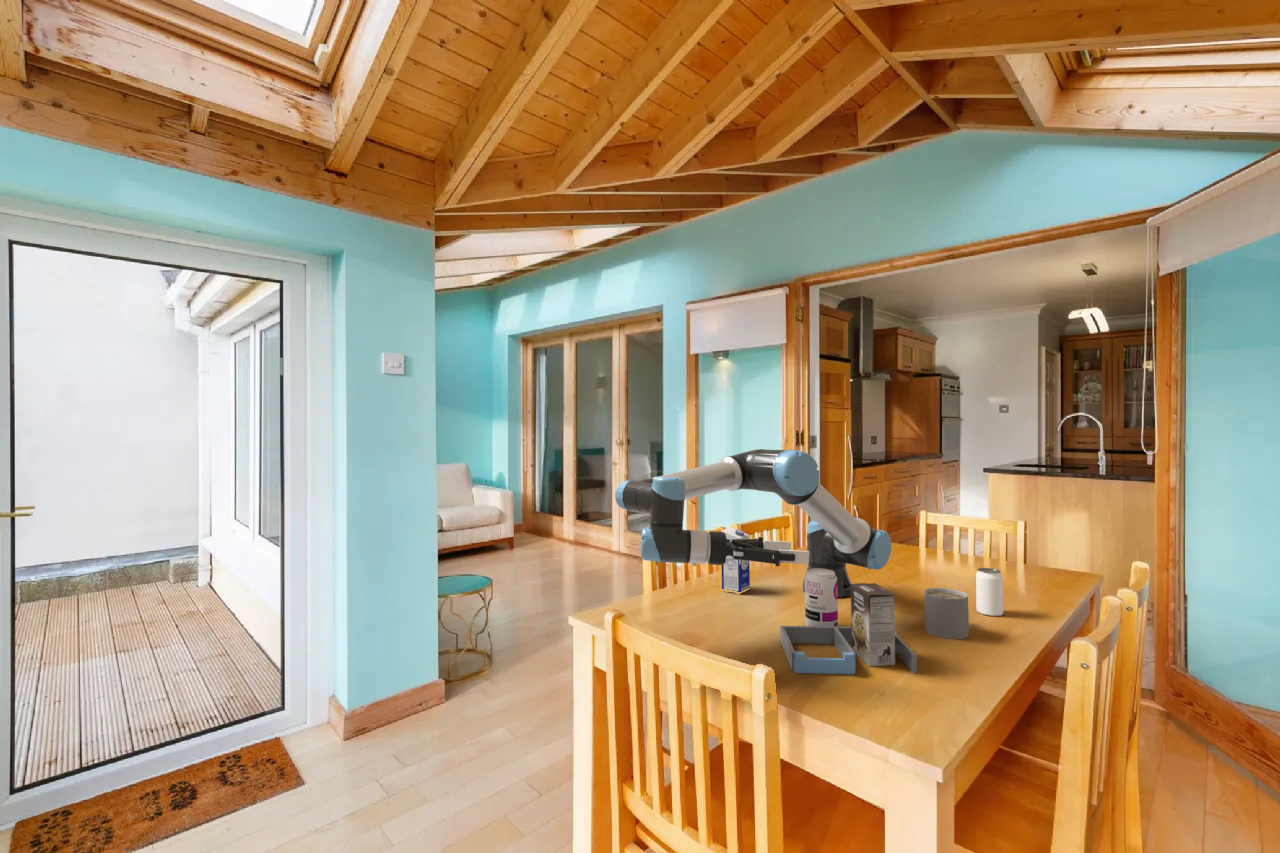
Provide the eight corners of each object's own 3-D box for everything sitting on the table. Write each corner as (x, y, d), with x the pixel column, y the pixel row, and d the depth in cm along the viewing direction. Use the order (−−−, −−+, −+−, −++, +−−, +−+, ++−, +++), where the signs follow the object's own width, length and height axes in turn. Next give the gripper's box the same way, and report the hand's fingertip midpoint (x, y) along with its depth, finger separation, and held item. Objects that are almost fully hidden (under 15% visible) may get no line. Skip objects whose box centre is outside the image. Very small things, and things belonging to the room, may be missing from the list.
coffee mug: (963, 642, 141) (962, 601, 141) (919, 633, 148) (919, 593, 148) (976, 627, 151) (975, 589, 151) (935, 619, 158) (934, 582, 158)
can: (1007, 617, 158) (1006, 573, 158) (981, 616, 160) (980, 572, 159) (997, 609, 165) (997, 567, 165) (972, 608, 166) (972, 567, 166)
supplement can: (838, 624, 155) (837, 568, 155) (838, 635, 147) (836, 576, 147) (806, 621, 158) (805, 567, 158) (805, 632, 150) (803, 574, 150)
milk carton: (731, 586, 193) (730, 526, 193) (750, 589, 189) (749, 528, 189) (721, 591, 187) (720, 530, 187) (740, 595, 183) (739, 532, 183)
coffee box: (850, 651, 137) (849, 583, 137) (876, 649, 138) (875, 582, 138) (869, 667, 128) (867, 594, 128) (896, 665, 129) (895, 593, 129)
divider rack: (780, 641, 144) (780, 625, 144) (890, 643, 141) (890, 626, 141) (793, 673, 126) (792, 654, 126) (919, 676, 123) (919, 656, 123)
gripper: (699, 554, 145) (783, 558, 146) (715, 575, 120) (816, 580, 121) (700, 524, 146) (784, 529, 146) (717, 539, 121) (817, 544, 121)
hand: (799, 552), depth 134 cm, fingers open, 13 cm apart
